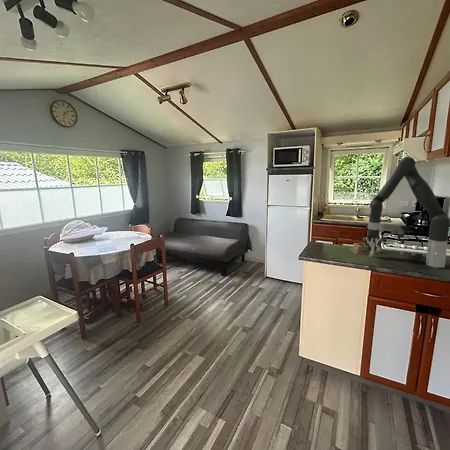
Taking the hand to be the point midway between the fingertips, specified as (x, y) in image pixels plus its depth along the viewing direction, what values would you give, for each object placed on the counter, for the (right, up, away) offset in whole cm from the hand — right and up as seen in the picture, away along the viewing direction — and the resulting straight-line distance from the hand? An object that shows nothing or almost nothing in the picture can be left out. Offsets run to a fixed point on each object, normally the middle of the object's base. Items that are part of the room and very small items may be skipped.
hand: (372, 251), depth 184 cm
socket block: (-1, -2, +12) cm, 12 cm away
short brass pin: (+9, -2, +10) cm, 14 cm away
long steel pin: (0, -4, +1) cm, 4 cm away
